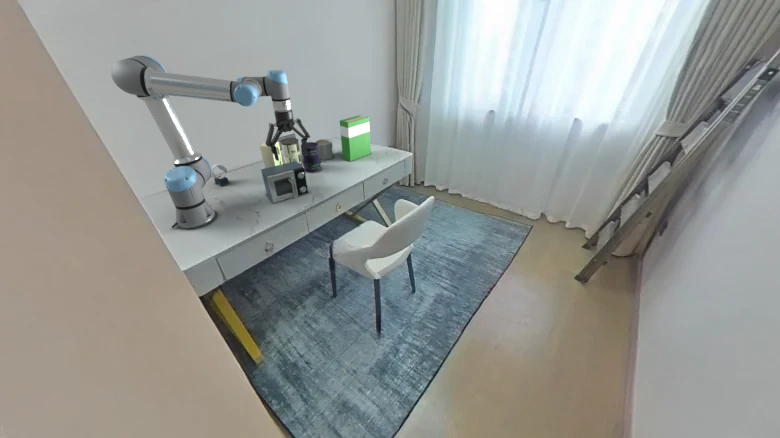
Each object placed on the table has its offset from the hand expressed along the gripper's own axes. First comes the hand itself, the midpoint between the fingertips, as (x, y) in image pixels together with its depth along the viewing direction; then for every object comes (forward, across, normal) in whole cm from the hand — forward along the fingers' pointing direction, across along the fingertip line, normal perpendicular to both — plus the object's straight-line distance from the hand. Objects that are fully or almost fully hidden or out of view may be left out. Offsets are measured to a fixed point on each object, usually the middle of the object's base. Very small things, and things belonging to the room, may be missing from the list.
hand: (291, 156), depth 148 cm
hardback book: (+22, +52, +29) cm, 64 cm away
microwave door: (+22, -6, -1) cm, 22 cm away
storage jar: (+22, +20, +27) cm, 40 cm away
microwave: (+22, -3, +6) cm, 23 cm away
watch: (+22, -27, +39) cm, 52 cm away
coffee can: (+22, +15, +43) cm, 50 cm away
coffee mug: (+22, +37, +40) cm, 59 cm away
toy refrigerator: (+22, -2, +25) cm, 34 cm away
